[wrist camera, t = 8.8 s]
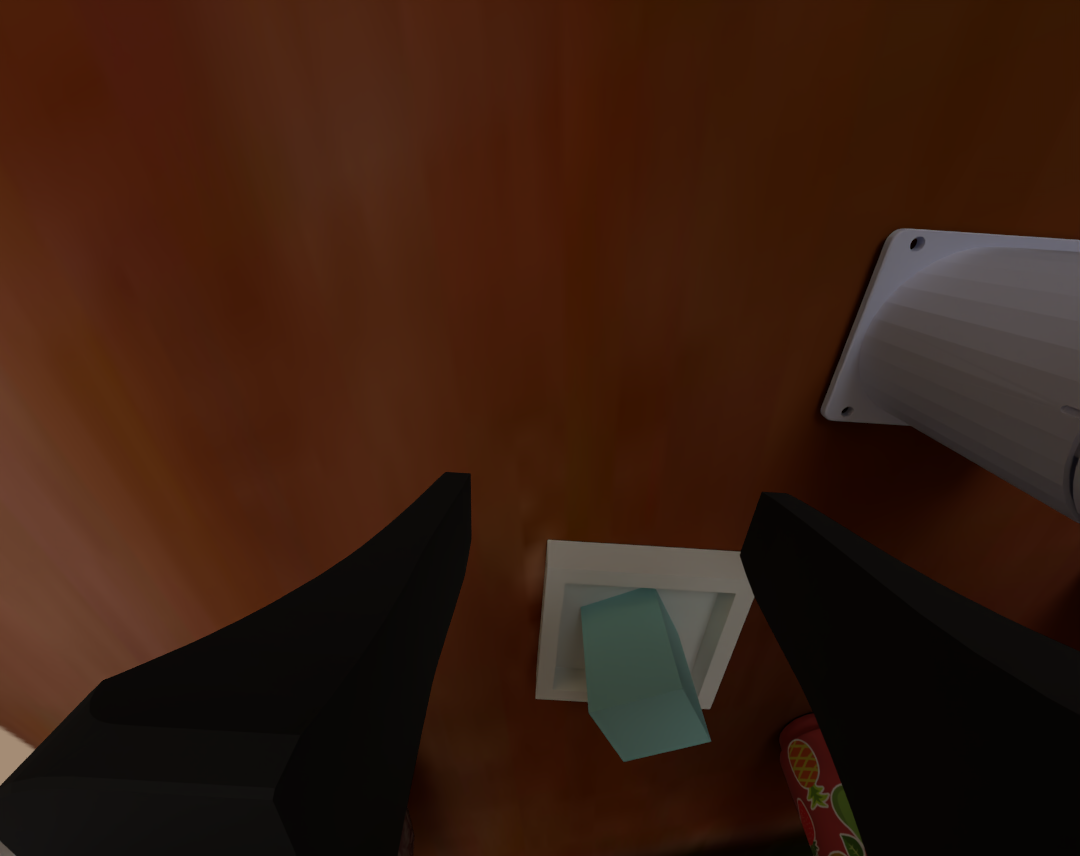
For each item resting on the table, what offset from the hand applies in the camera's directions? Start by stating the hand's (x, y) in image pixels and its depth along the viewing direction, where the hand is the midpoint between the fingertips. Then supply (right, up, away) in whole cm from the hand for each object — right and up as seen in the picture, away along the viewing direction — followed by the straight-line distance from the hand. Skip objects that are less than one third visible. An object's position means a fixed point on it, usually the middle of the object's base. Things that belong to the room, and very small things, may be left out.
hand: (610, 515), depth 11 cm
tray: (+4, -9, +16) cm, 19 cm away
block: (+4, -9, +15) cm, 18 cm away
